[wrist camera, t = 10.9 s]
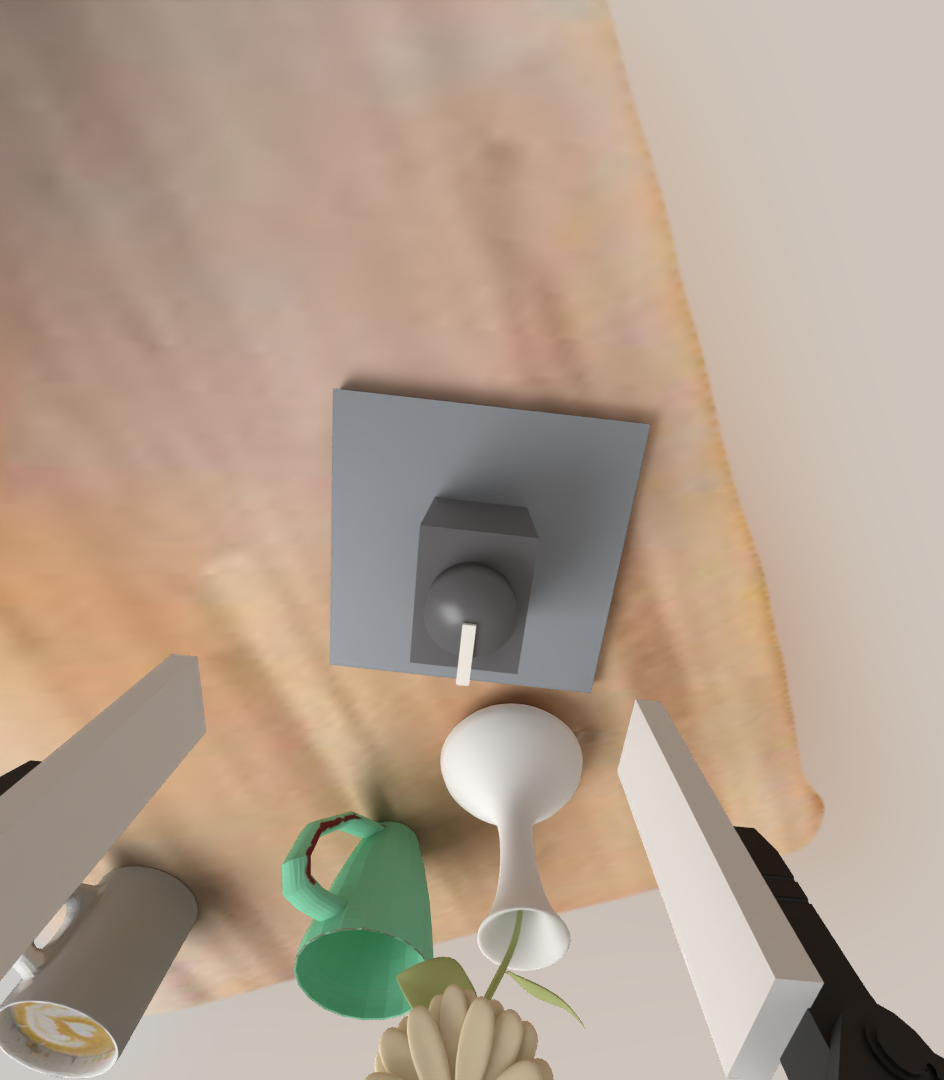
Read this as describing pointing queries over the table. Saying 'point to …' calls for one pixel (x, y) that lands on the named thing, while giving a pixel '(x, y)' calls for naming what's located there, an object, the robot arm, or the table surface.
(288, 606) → the table surface
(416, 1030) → the flower in vase
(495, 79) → the table surface
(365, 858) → the mug
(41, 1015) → the coffee mug
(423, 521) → the knob
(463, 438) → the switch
